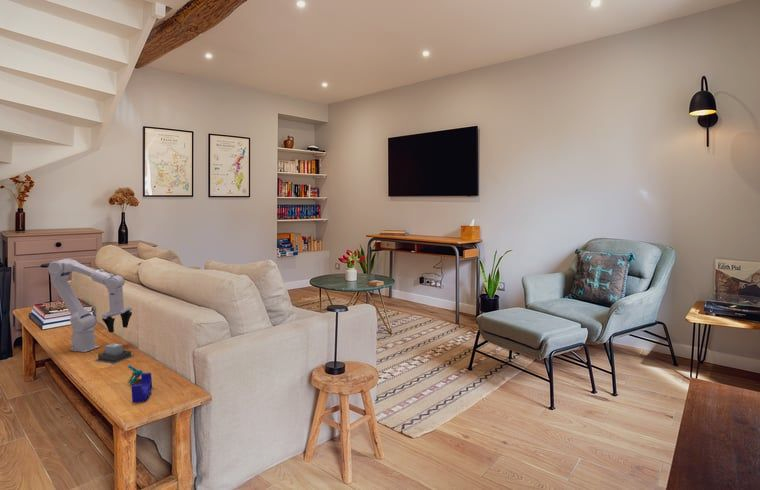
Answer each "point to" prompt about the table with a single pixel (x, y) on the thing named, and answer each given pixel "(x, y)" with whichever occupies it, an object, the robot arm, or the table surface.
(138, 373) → the teal irregular piece
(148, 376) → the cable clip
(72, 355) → the table surface
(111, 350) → the block
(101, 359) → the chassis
